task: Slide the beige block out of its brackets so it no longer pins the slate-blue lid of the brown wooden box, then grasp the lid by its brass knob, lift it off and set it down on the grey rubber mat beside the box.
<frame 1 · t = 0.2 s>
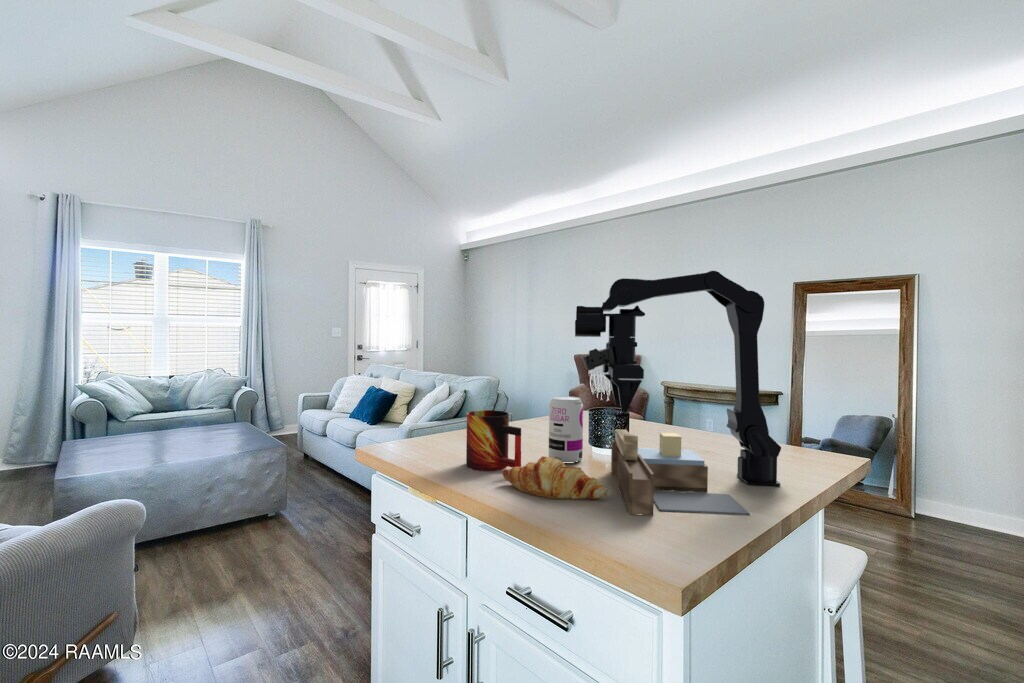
hand: (621, 408, 105), 14 cm above the worktop, tool pointing down, fingers open, 9 cm apart
lid: (660, 458, 99), point 5 cm above the worktop, touching brown wooden box
supplement can: (565, 460, 117), on the worktop
mat: (695, 502, 87), on the worktop
brown wooden box: (659, 482, 99), on the worktop
mug: (495, 467, 110), on the worktop
croissant: (552, 494, 92), on the worktop
beige block: (625, 439, 99), point 9 cm above the worktop, slide at 0.0 cm
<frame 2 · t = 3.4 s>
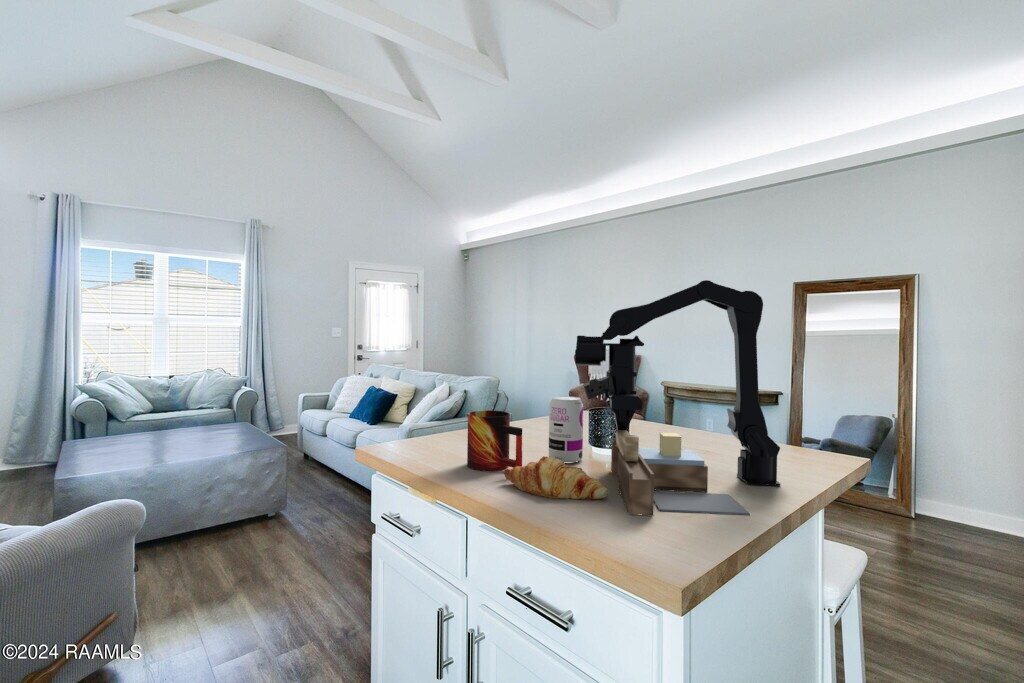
hand: (620, 436, 107), 8 cm above the worktop, tool pointing down, fingers closed
beige block: (626, 440, 98), point 9 cm above the worktop, slide at 1.0 cm, touching gripper
everything else where it was.
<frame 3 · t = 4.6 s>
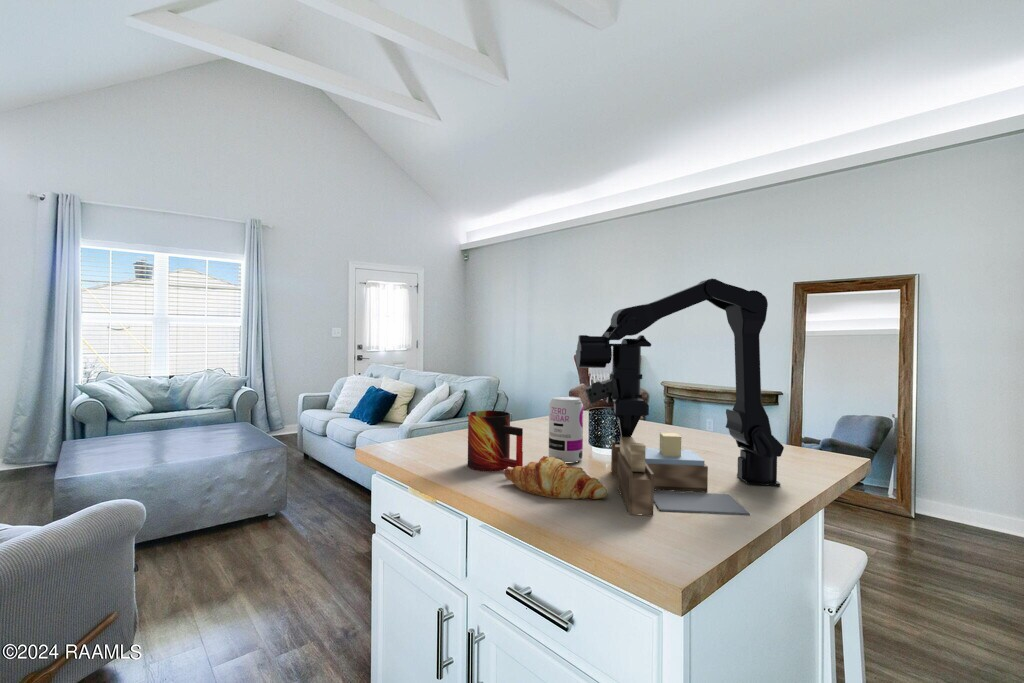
hand: (625, 443, 100), 8 cm above the worktop, tool pointing down, fingers closed
beige block: (631, 448, 91), point 9 cm above the worktop, slide at 8.0 cm, touching gripper
everything else where it was.
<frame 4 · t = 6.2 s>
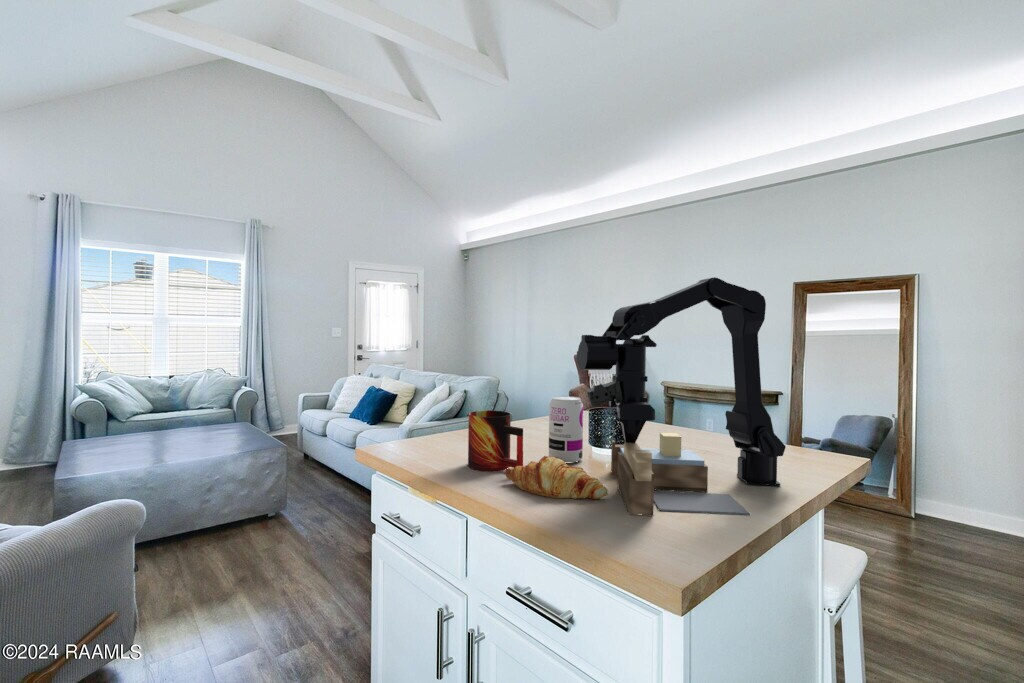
hand: (629, 449, 95), 8 cm above the worktop, tool pointing down, fingers closed
beige block: (636, 455, 86), point 9 cm above the worktop, slide at 13.5 cm, touching gripper
everything else where it was.
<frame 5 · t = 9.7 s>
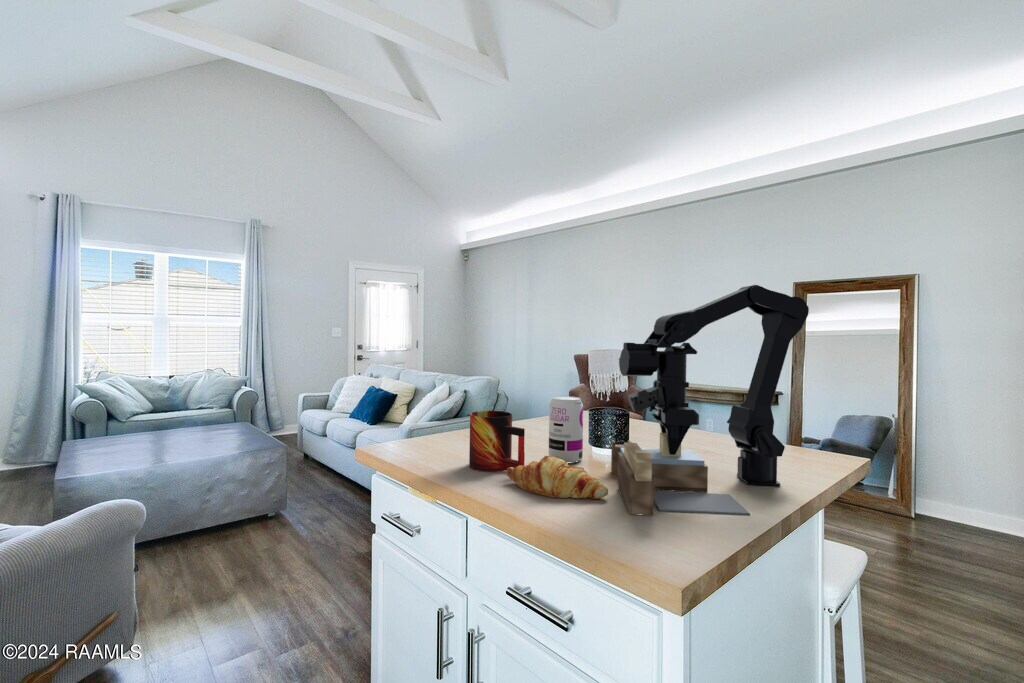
hand: (670, 452, 99), 6 cm above the worktop, tool pointing down, fingers closed on lid, 3 cm apart
lid: (660, 458, 99), point 5 cm above the worktop, touching gripper, brown wooden box
beige block: (636, 455, 86), point 9 cm above the worktop, slide at 13.5 cm
everything else where it was.
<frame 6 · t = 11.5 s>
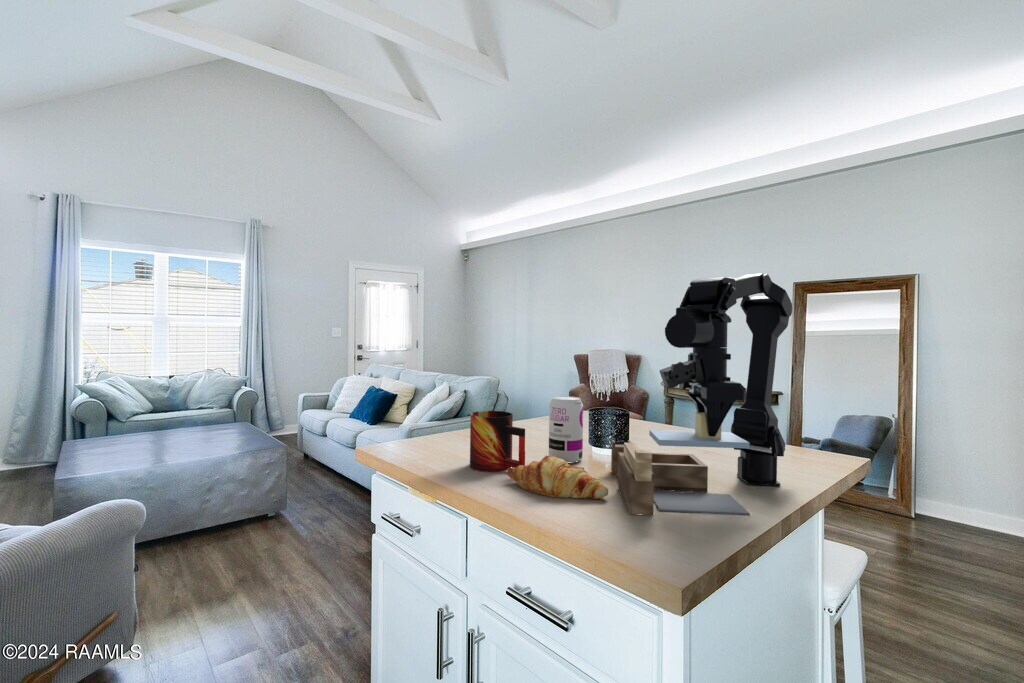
hand: (708, 434, 87), 13 cm above the worktop, tool pointing down, fingers closed on lid, 3 cm apart
lid: (696, 441, 87), point 11 cm above the worktop, touching gripper
when the fingers open (3 cm above the worktop, at t = 13.4 s): lid drops 1 cm, resting on mat.
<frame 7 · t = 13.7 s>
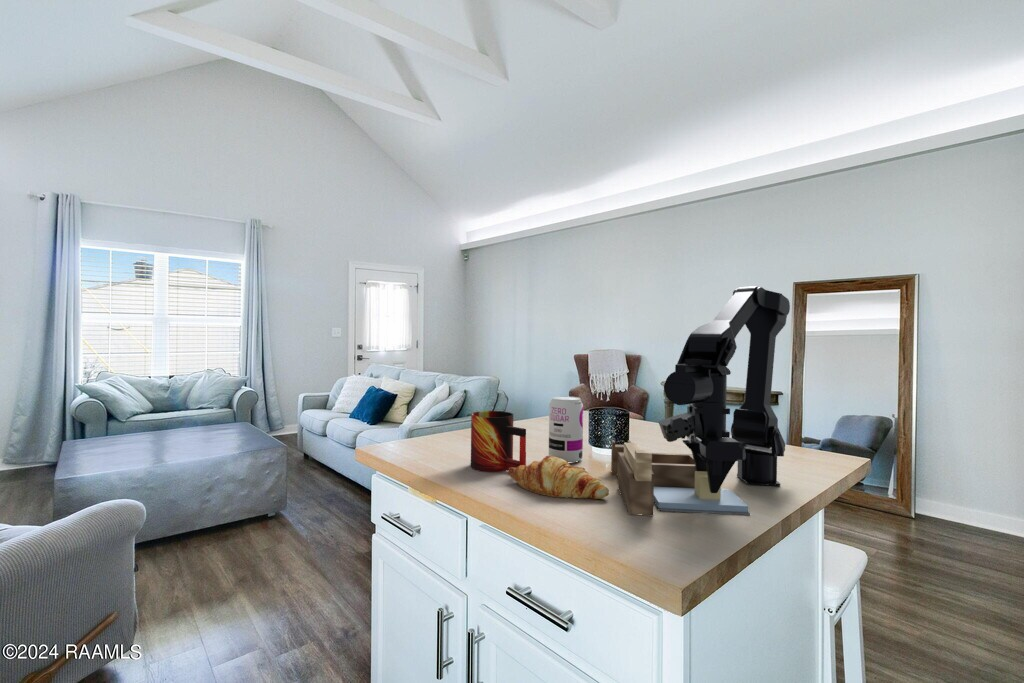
hand: (707, 486, 87), 3 cm above the worktop, tool pointing down, fingers open, 6 cm apart
lid: (695, 501, 87), resting on mat
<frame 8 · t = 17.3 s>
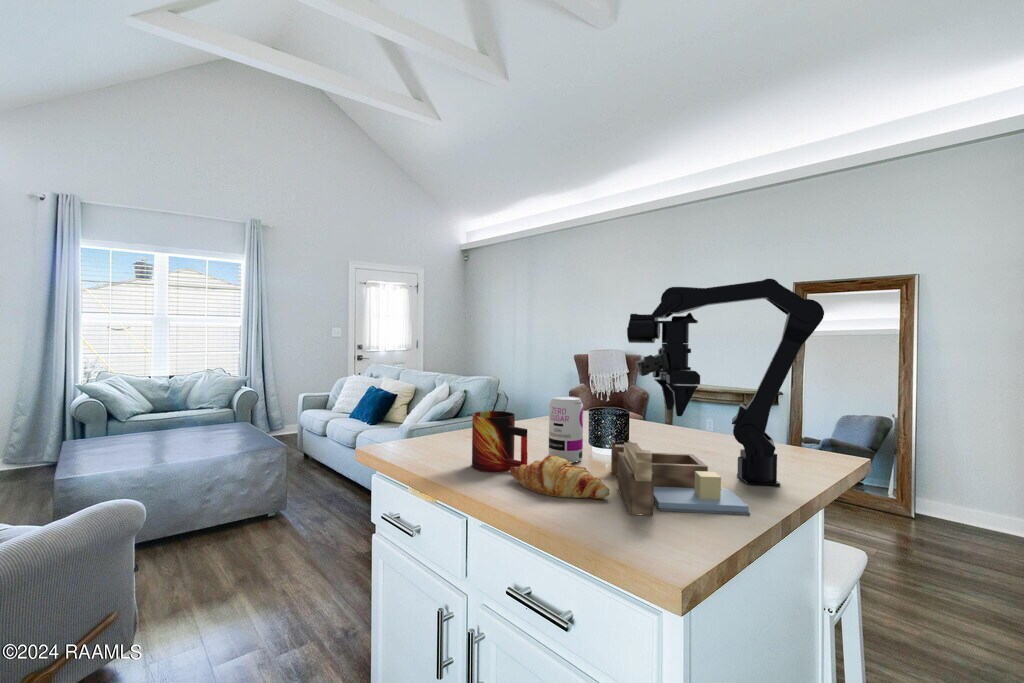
hand: (673, 412, 108), 13 cm above the worktop, tool pointing down, fingers open, 9 cm apart
at the end: beige block slide at 13.5 cm; lid inside the target area (0.0 cm from its centre), resting on mat; lid tilted 0° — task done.
